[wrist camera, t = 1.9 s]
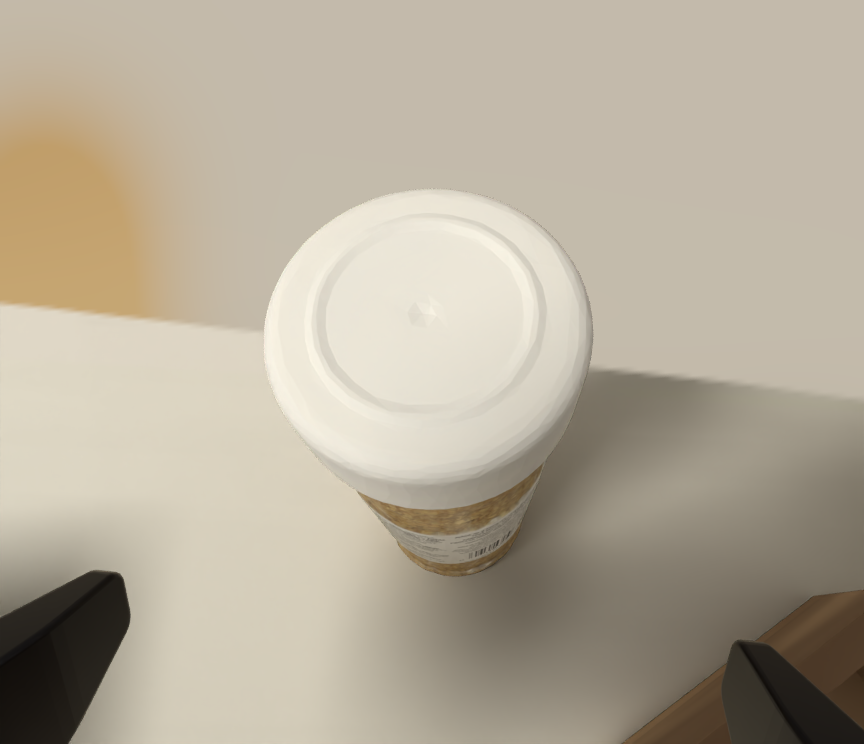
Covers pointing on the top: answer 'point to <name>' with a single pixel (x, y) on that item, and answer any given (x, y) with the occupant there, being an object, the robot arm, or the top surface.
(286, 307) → the sprinkles bottle
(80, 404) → the top surface
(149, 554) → the top surface
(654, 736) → the crate
